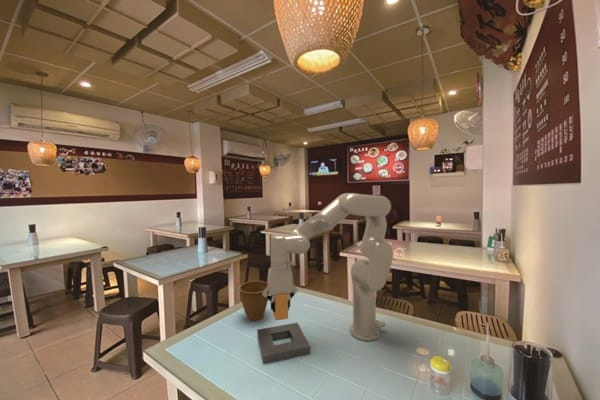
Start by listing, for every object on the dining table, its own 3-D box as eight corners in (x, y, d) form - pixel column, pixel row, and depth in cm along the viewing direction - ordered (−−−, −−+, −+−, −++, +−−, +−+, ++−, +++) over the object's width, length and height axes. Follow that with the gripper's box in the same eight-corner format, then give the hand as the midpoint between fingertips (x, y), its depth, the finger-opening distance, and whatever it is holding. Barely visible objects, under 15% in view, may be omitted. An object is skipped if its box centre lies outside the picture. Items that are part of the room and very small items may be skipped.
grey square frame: (297, 328, 112) (297, 322, 112) (310, 353, 95) (310, 346, 95) (257, 336, 107) (257, 329, 107) (263, 364, 90) (263, 356, 89)
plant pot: (234, 324, 117) (233, 291, 116) (248, 309, 131) (247, 279, 131) (264, 327, 114) (263, 293, 113) (274, 312, 128) (274, 281, 127)
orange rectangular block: (285, 312, 103) (285, 289, 103) (288, 318, 99) (287, 293, 98) (273, 314, 102) (273, 290, 102) (275, 320, 97) (275, 295, 97)
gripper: (298, 261, 106) (298, 303, 106) (257, 264, 101) (258, 308, 101) (303, 266, 98) (303, 311, 99) (260, 270, 93) (260, 317, 94)
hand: (280, 309), depth 100 cm, fingers closed on orange rectangular block, 5 cm apart
